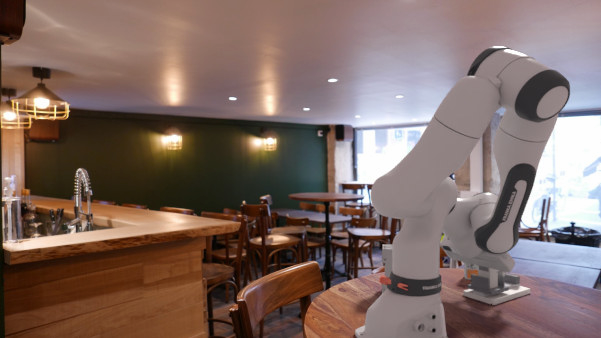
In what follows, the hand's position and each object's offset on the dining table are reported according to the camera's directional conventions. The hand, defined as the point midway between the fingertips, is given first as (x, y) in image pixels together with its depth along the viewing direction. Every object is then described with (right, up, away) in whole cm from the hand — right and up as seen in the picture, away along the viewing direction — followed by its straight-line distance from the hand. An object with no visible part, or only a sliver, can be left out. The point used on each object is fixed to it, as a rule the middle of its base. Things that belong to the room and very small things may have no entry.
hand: (487, 270), depth 118 cm
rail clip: (+4, -7, +3) cm, 8 cm away
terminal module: (0, -5, 0) cm, 5 cm away
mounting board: (+4, -8, +3) cm, 9 cm away
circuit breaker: (-25, -8, +2) cm, 26 cm away
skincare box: (+4, -8, +19) cm, 21 cm away
